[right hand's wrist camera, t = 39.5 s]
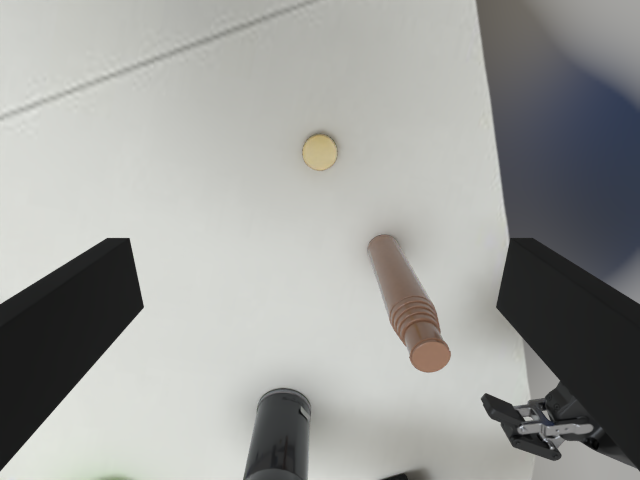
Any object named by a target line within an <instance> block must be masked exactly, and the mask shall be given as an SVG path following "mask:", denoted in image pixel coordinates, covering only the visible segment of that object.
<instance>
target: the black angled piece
mask: <svg viewBox="0 0 640 480" xmlns="http://www.w3.org/2000/svg"><path fill="white" fill-rule="evenodd" d="M386 480H408V479H407V477H406V475H405V474H403V475H400V476H396V477H393V478H390V479H386Z"/></svg>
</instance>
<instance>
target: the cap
mask: <svg viewBox="0 0 640 480" xmlns="http://www.w3.org/2000/svg"><path fill="white" fill-rule="evenodd" d="M303 147H304V148H303V150H302V151H303V154H302V155H303V158H304V161H305V163H306V164H307V165H308V166H309V167H310V168H312V169H314V170H318V171H322V170H326V169H328V168H330V167H331V166H332V165H333V164H334V162H335V161H336V158H337V147H336V144H335V143H334V141H333V140H332V139H331V137H328V135H324V134H316V135H313V136H311V137H310V138H309V139H307V141H306V142H305V145H304V146H303Z"/></svg>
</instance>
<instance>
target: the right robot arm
mask: <svg viewBox="0 0 640 480" xmlns="http://www.w3.org/2000/svg"><path fill="white" fill-rule="evenodd" d="M143 308H144V305H143V301H142V296H141V291H140V286H139V281H138V277H137V272H136V267H135V262H134V258H133V253H132V248H131V243H130V238H107V239H105V240H103V241H102V242H100V243H98V244H97V245H95V246H94V247H92V248H90V249H89V250H87V251H86V252H84V253H82V254H81V255H79V256H77V257H76V258H74V259H73V260H71V261H69V262H68V263H66V264H65V265H63V266H61V267H60V268H58V269H56V270H55V271H53V272H52V273H50V274H48V275H47V276H45V277H44V278H42V279H40V280H39V281H37V282H35V283H34V284H32V285H31V286H29V287H27V288H26V289H24V290H23V291H21V292H19V293H18V294H16V295H14V296H13V297H11V298H10V299H8V300H6V301H5V302H3V303H2V304H0V471H1V470H2V469H3V468H4V466H5V465H6V464H7V463H8V462H9V461H10V460H11V458H12V457H13V456H14V455H15V454H16V453H17V452H18V450H19V449H20V448H21V447H22V446H23V445H24V444H25V442H26V441H27V440H28V439H29V438H30V437H31V436H32V434H33V433H34V432H35V431H36V430H37V429H38V428H39V426H40V425H41V424H42V423H43V422H44V421H45V420H46V418H47V417H48V416H49V415H50V414H51V413H52V412H53V410H54V409H55V408H56V407H57V406H58V405H59V404H60V403H61V401H62V400H63V399H64V398H65V397H66V396H67V395H68V393H69V392H70V391H71V390H72V389H73V388H74V387H75V385H76V384H77V383H78V382H79V381H80V380H81V379H82V377H83V376H84V375H85V374H86V373H87V372H88V371H89V369H90V368H91V367H92V366H93V365H94V364H95V363H96V361H97V360H98V359H99V358H100V357H101V356H102V355H103V353H104V352H105V351H106V350H107V349H108V348H109V347H110V345H111V344H112V343H113V342H114V341H115V340H116V339H117V337H118V336H119V335H120V334H121V333H122V332H123V331H124V329H125V328H126V327H127V326H128V325H129V324H130V323H131V321H132V320H133V319H134V318H135V317H136V316H137V315H138V313H139V312H140V311H141V310H142V309H143ZM496 308H497V309H498V310H499V311H500V312H501V313H502V315H503V316H504V317H505V318H506V319H507V320H508V321H509V323H510V324H511V325H512V326H513V327H514V328H515V329H516V331H517V332H518V333H519V334H520V335H521V336H522V337H523V339H524V340H525V341H526V342H527V343H528V344H529V345H530V347H531V348H532V349H533V350H534V351H535V352H536V353H537V355H538V356H539V357H540V358H541V359H542V360H543V361H544V363H545V364H546V365H547V366H548V367H549V368H550V369H551V371H552V372H553V373H554V374H555V375H556V376H557V377H558V379H559V380H560V381H561V382H562V383H563V384H564V385H565V387H566V388H567V389H568V390H569V391H570V392H571V393H572V395H573V396H574V397H575V398H576V399H577V400H578V401H579V403H580V404H581V405H582V406H583V407H584V408H585V409H586V410H587V412H588V413H589V414H590V415H591V416H592V417H593V418H594V420H595V421H596V422H597V423H598V424H599V425H600V426H601V428H602V429H603V430H604V431H605V432H606V433H607V434H608V436H609V437H610V438H611V439H612V440H613V441H614V442H615V444H616V445H617V446H618V447H619V448H620V449H621V450H622V452H623V453H624V454H625V455H626V456H627V457H628V458H629V460H630V461H631V462H632V463H633V464H634V465H635V466H636V468H637V469H638V470H639V471H640V304H638V303H637V302H635V301H634V300H632V299H630V298H629V297H627V296H625V295H624V294H622V293H621V292H619V291H617V290H616V289H614V288H613V287H611V286H609V285H608V284H606V283H604V282H603V281H601V280H600V279H598V278H596V277H595V276H593V275H592V274H590V273H588V272H587V271H585V270H583V269H582V268H580V267H579V266H577V265H575V264H574V263H572V262H571V261H569V260H567V259H566V258H564V257H563V256H561V255H559V254H558V253H556V252H554V251H553V250H551V249H550V248H548V247H546V246H545V245H543V244H542V243H540V242H538V241H537V240H535V239H533V238H510V243H509V248H508V253H507V257H506V262H505V267H504V272H503V277H502V281H501V286H500V291H499V296H498V301H497V305H496Z"/></svg>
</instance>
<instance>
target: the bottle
mask: <svg viewBox="0 0 640 480" xmlns="http://www.w3.org/2000/svg"><path fill="white" fill-rule="evenodd" d="M367 251H368V256H369V259H370V262H371V265H372V268H373V271H374V274H375V277H376V280H377V283H378V286H379V289H380V292H381V296H382V299H383V302H384V305H385V308H386V311H387V314H388V317H389V320H390V323H391V325H392V327H393V329H394V331H395V332H396V334H397V335H398V336H399V338H400V339H401V341H402V342H403V344H404V345H405V346H406V347H407V349H408V352H409V355H410V357H409V358H410V361H411V363H412V365H413V366H414V367H415V368H417V369H418V370H420V371H423V372H435V371H438V370H440V369H442V368H443V367H444V366H445V365H446V364H447V363H448V362H449V360H450V356H451V352H450V351H449V347H448V345H447V344H446V343H445V341H444V340H443V338H442V336H441V331H440V326H439V322H438V317H437V313H436V310H435V307H434V305H433V303H432V302H431V300H430V298H429V296H428V295H427V293H426V291H425V289H424V288H423V286H422V284H421V282H420V281H419V279H418V277H417V275H416V274H415V272H414V270H413V268H412V267H411V265H410V263H409V261H408V260H407V258H406V256H405V254H404V253H403V251H402V249H401V247H400V246H399V244H398V242H397V241H396V239H395V238H393V237H392V236H389V235H379V236H377V237H375V238H374V239H372V240H371V242H370V243H369V245H368V250H367Z"/></svg>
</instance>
